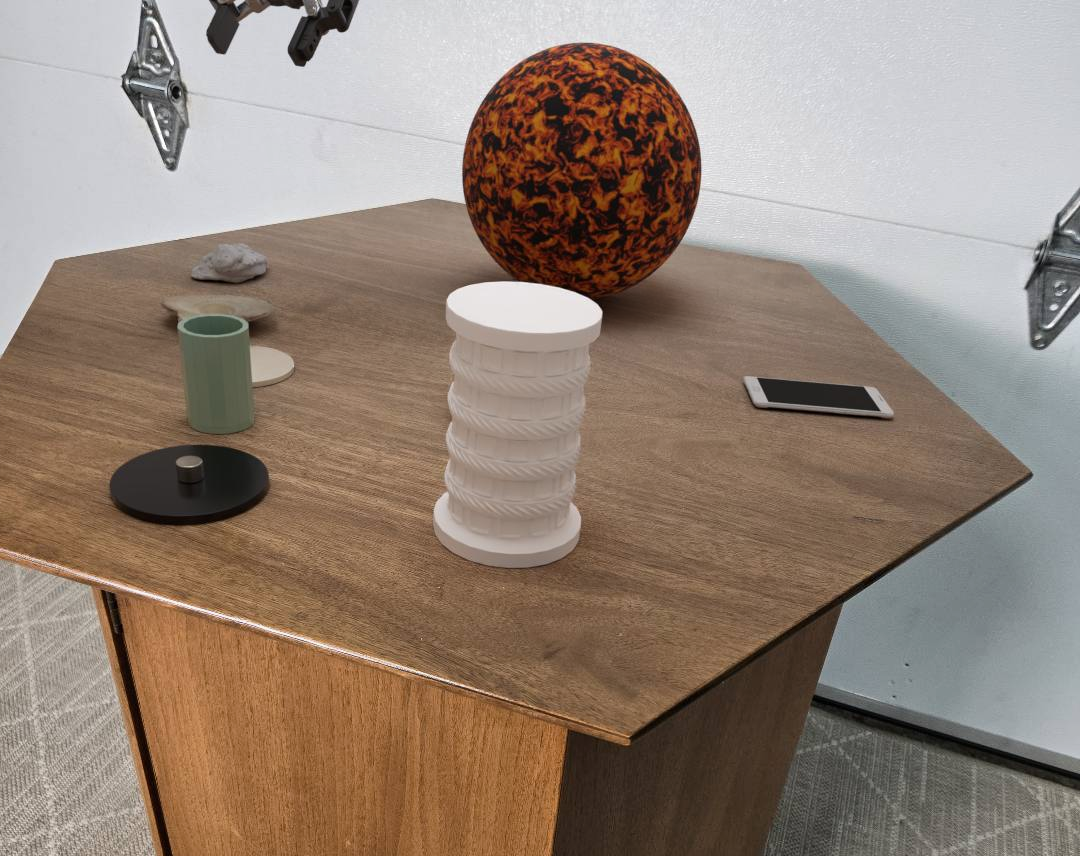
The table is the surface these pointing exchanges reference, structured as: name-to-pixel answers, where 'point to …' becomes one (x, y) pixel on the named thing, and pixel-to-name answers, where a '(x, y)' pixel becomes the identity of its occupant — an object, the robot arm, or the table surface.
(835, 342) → the table surface
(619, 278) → the ball
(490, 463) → the decorative container
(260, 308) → the seashell
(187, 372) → the pot
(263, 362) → the coaster
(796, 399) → the smartphone
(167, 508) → the lid
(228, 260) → the stone
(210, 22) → the robot arm
